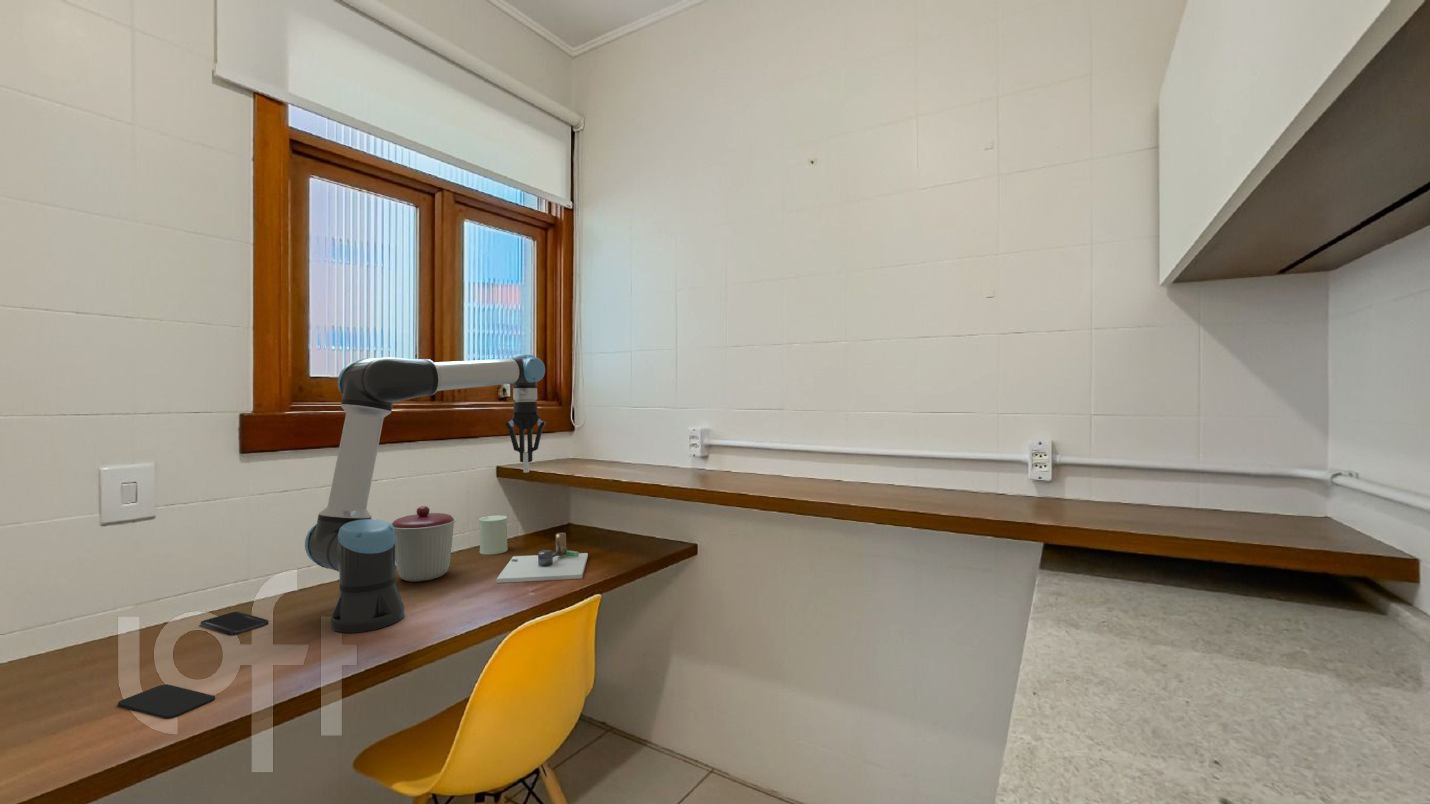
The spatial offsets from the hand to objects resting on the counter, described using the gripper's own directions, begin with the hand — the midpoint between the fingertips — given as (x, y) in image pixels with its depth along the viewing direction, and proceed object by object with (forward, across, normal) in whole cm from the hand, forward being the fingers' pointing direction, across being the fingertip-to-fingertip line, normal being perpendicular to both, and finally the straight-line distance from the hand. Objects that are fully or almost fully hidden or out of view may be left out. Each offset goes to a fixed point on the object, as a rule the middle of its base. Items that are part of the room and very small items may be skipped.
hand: (526, 471), depth 197 cm
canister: (+29, -27, -17) cm, 43 cm away
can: (+29, -13, +10) cm, 33 cm away
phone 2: (+29, -59, -49) cm, 82 cm away
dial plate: (+28, +8, -15) cm, 33 cm away
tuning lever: (+27, +10, -11) cm, 31 cm away
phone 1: (+29, -47, -87) cm, 103 cm away
